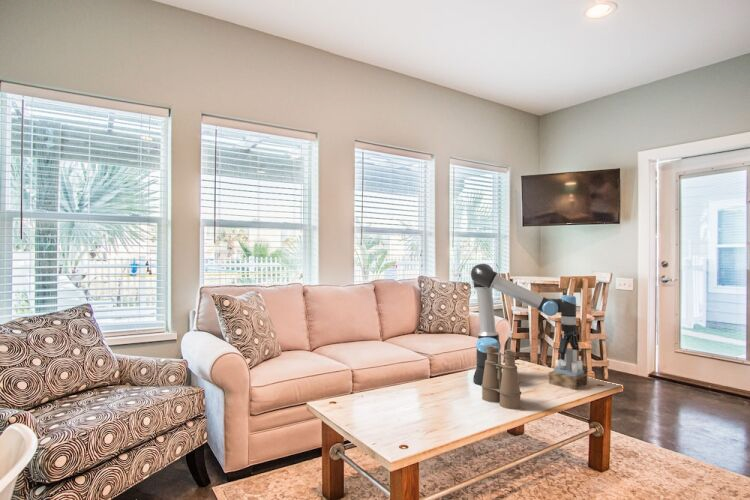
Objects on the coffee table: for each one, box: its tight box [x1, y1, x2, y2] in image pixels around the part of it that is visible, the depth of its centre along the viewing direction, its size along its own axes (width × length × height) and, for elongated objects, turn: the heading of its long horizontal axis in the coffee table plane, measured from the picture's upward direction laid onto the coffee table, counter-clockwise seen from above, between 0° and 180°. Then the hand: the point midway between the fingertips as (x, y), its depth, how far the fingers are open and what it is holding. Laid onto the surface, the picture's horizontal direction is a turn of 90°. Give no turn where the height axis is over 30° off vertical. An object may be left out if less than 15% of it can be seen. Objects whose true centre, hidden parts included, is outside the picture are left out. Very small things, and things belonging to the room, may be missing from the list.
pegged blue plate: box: [553, 348, 584, 376], centre depth 227 cm, size 12×10×12 cm
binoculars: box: [480, 346, 522, 410], centre depth 197 cm, size 21×10×25 cm, turn 34°
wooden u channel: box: [548, 365, 588, 391], centre depth 226 cm, size 14×15×10 cm
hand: (568, 363), depth 227 cm, fingers open, 12 cm apart
